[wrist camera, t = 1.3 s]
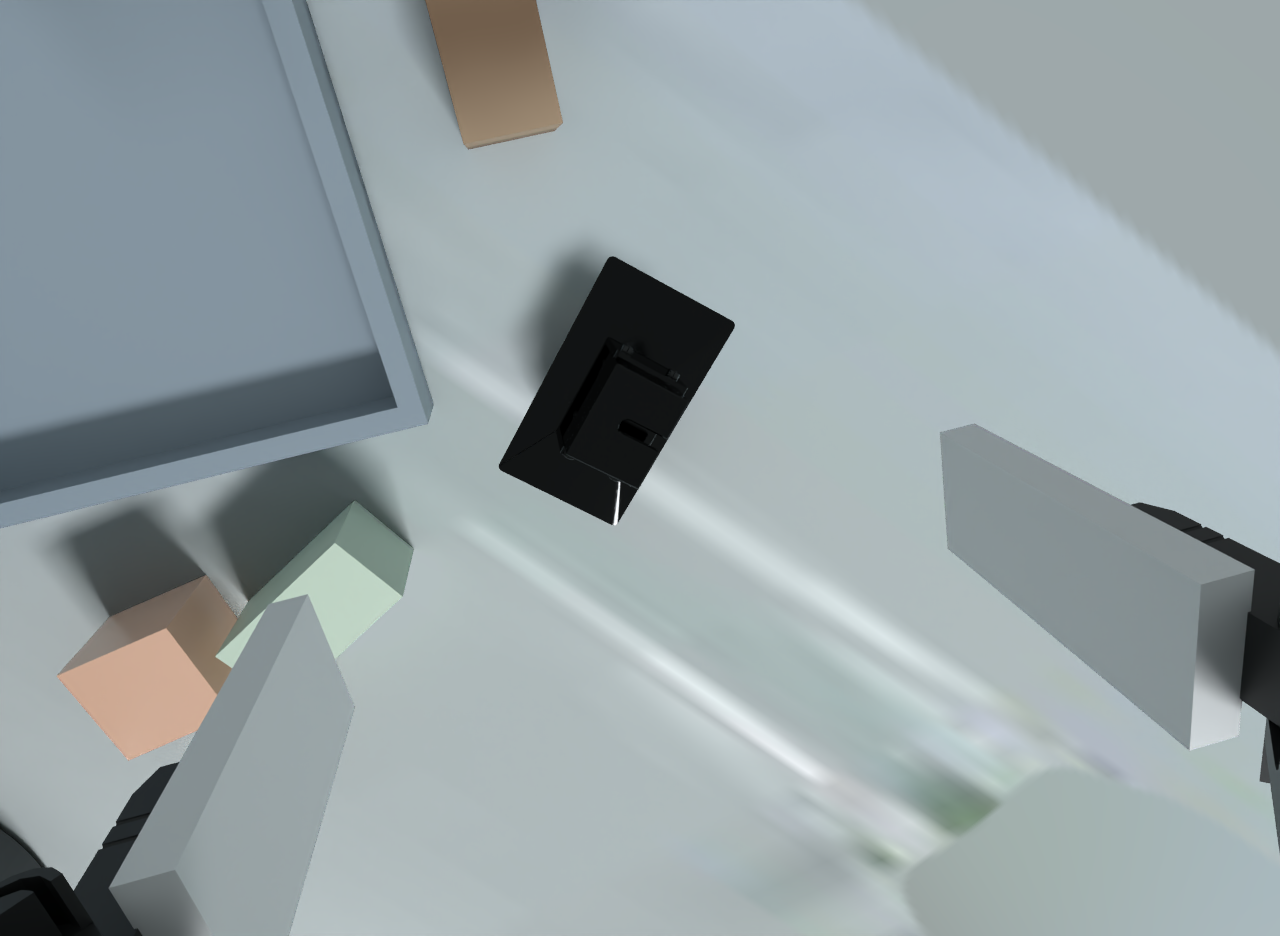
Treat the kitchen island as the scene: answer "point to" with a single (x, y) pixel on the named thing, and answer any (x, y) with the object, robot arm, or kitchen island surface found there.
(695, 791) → the kitchen island surface
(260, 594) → the brick sage
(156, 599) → the cube terracotta
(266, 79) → the tray
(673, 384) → the build plate
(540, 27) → the brick walnut
